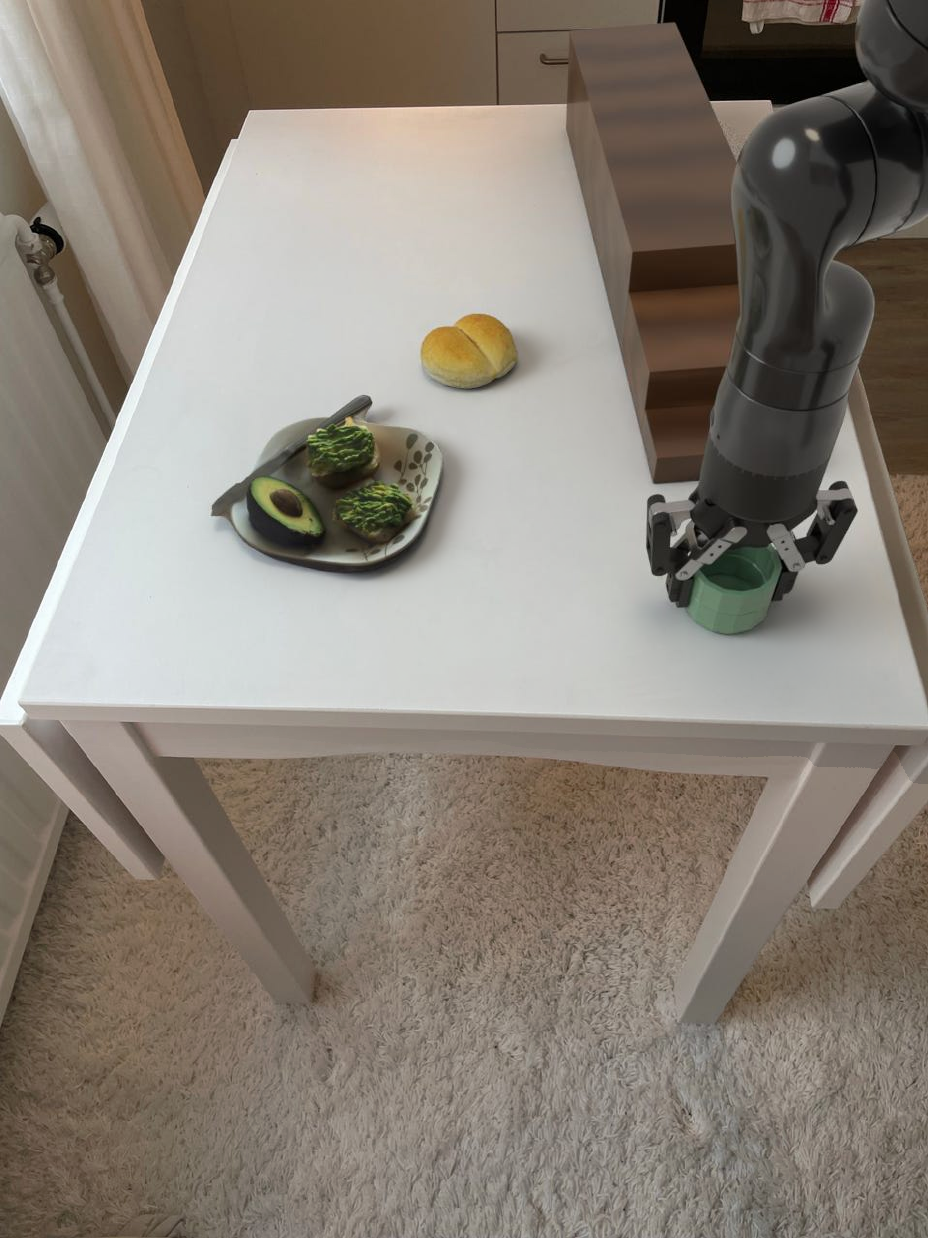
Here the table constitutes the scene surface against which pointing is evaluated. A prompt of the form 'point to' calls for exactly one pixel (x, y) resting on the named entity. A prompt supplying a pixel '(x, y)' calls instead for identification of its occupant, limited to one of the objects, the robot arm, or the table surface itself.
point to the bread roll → (469, 352)
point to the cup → (735, 589)
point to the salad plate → (336, 492)
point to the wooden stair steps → (658, 227)
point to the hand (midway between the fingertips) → (726, 595)
